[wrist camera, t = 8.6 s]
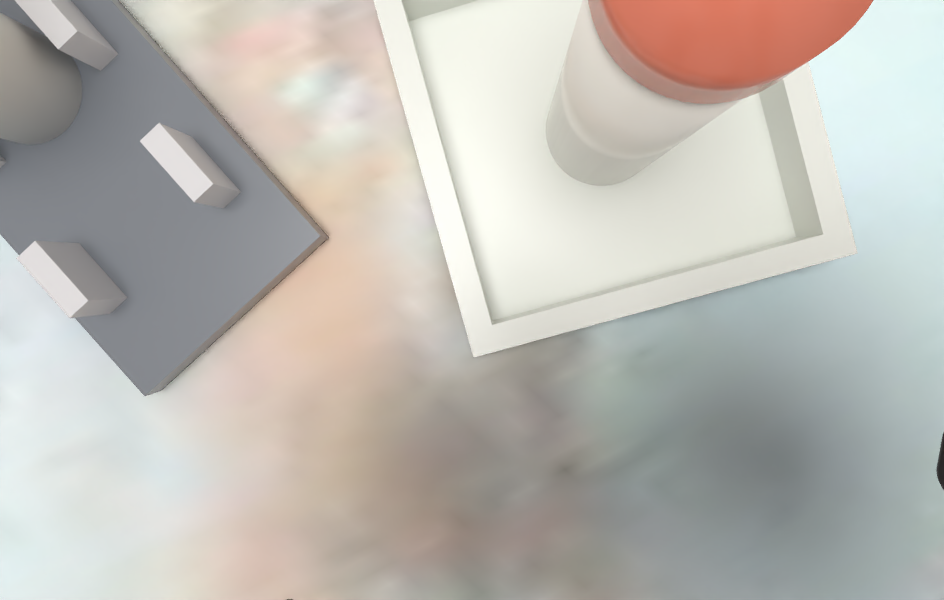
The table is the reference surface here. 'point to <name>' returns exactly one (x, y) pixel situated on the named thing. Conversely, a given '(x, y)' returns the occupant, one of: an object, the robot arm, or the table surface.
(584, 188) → the tray
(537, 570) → the table surface
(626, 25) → the white cylinder orange top
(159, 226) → the fuse panel
